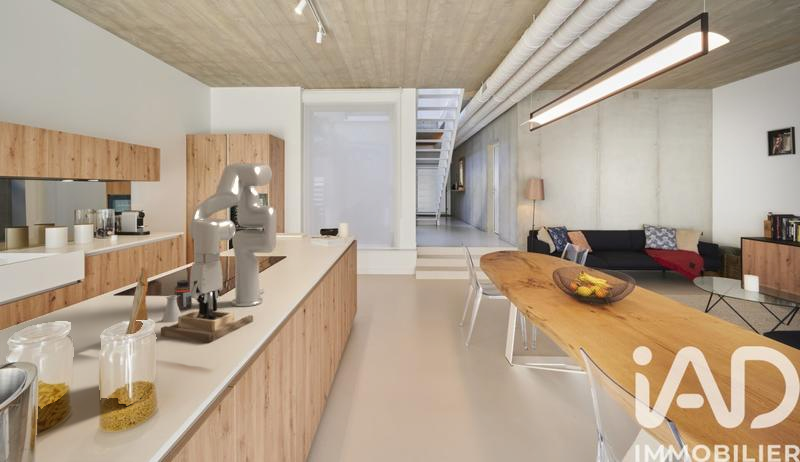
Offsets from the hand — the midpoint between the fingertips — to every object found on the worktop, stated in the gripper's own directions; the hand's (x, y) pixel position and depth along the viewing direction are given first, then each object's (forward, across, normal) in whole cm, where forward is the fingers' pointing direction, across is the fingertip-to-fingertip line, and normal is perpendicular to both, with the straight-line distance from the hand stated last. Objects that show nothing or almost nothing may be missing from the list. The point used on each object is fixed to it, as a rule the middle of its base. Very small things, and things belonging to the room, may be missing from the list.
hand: (208, 311), depth 123 cm
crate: (+6, +1, 0) cm, 6 cm away
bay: (+7, -1, 0) cm, 7 cm away
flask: (+8, -4, -19) cm, 21 cm away
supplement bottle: (+8, -20, -30) cm, 37 cm away
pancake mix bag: (+7, +35, +11) cm, 37 cm away
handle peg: (+5, 0, 0) cm, 5 cm away
